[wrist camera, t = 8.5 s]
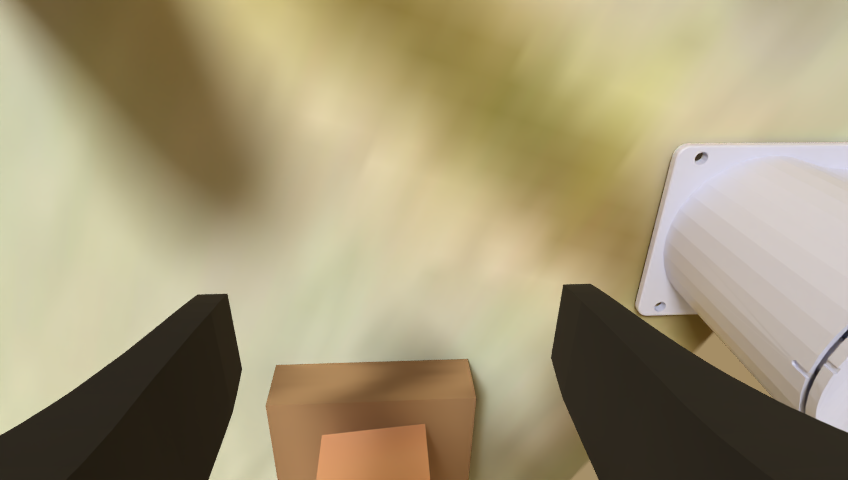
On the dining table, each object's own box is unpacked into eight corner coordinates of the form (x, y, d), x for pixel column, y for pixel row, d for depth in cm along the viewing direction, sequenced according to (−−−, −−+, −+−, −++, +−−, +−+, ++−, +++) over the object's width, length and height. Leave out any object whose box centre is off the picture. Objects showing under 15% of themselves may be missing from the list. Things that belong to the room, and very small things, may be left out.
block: (466, 352, 25) (476, 397, 23) (456, 476, 30) (463, 526, 27) (278, 358, 25) (265, 405, 22) (295, 484, 29) (287, 536, 26)
